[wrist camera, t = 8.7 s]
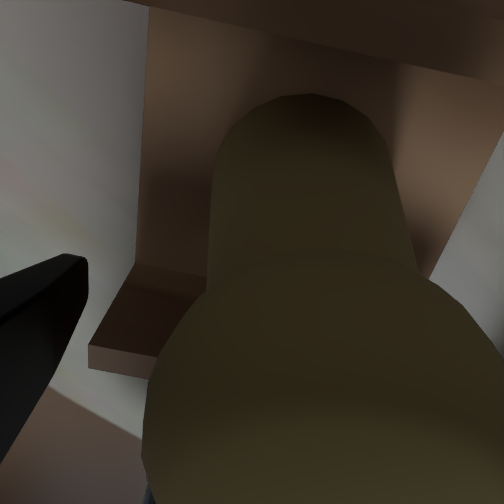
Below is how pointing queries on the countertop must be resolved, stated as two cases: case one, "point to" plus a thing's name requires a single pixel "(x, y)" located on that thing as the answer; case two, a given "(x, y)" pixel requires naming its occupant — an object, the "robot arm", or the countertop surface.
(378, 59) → the rack
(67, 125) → the countertop surface
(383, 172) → the olive bottle gourd
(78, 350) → the countertop surface
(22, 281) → the robot arm
